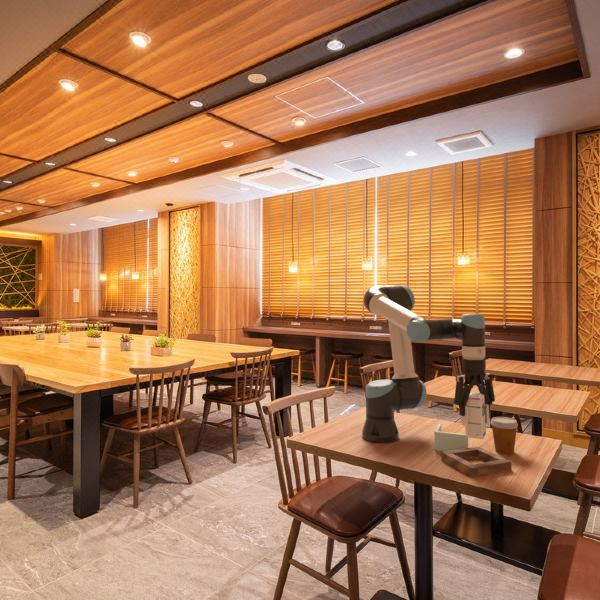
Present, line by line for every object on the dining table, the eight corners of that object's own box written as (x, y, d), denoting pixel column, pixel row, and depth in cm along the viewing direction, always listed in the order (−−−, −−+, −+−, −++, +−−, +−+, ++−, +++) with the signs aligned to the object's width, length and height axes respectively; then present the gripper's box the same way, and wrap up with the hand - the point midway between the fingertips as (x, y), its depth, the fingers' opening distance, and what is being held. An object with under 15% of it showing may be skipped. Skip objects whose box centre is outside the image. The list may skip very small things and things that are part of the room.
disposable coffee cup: (519, 449, 167) (519, 418, 167) (517, 458, 158) (517, 424, 158) (492, 445, 171) (491, 415, 171) (489, 453, 163) (488, 421, 163)
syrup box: (483, 439, 148) (482, 396, 148) (464, 436, 151) (464, 394, 151) (486, 434, 153) (485, 393, 153) (468, 432, 156) (467, 391, 156)
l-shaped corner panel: (468, 455, 163) (467, 435, 163) (434, 451, 168) (434, 431, 168) (470, 445, 174) (470, 426, 174) (439, 441, 179) (438, 423, 179)
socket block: (441, 460, 158) (441, 451, 158) (478, 454, 163) (478, 446, 163) (472, 477, 142) (471, 468, 142) (511, 470, 147) (511, 461, 147)
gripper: (455, 361, 145) (457, 430, 145) (506, 357, 152) (507, 423, 152) (441, 358, 153) (443, 424, 153) (490, 355, 159) (491, 418, 159)
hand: (475, 423), depth 152 cm, fingers closed on syrup box, 8 cm apart
